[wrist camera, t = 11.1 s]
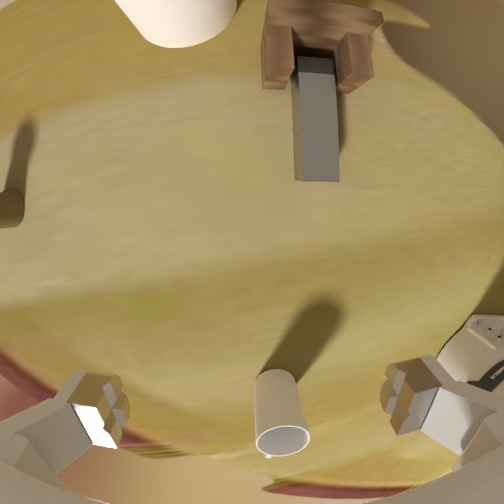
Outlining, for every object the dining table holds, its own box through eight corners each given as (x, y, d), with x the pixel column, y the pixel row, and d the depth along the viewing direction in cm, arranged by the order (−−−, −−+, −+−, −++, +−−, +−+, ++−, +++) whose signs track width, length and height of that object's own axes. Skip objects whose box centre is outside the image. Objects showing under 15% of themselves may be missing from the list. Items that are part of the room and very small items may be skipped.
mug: (260, 362, 41) (266, 422, 29) (303, 370, 42) (319, 427, 30) (241, 408, 43) (242, 465, 32) (280, 414, 44) (288, 469, 33)
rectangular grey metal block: (321, 72, 31) (333, 59, 26) (326, 180, 35) (339, 181, 30) (290, 70, 31) (297, 56, 26) (294, 180, 35) (302, 181, 30)
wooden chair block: (344, 51, 30) (381, 11, 18) (348, 93, 32) (391, 65, 20) (260, 45, 30) (268, -4, 18) (262, 89, 31) (272, 51, 20)
